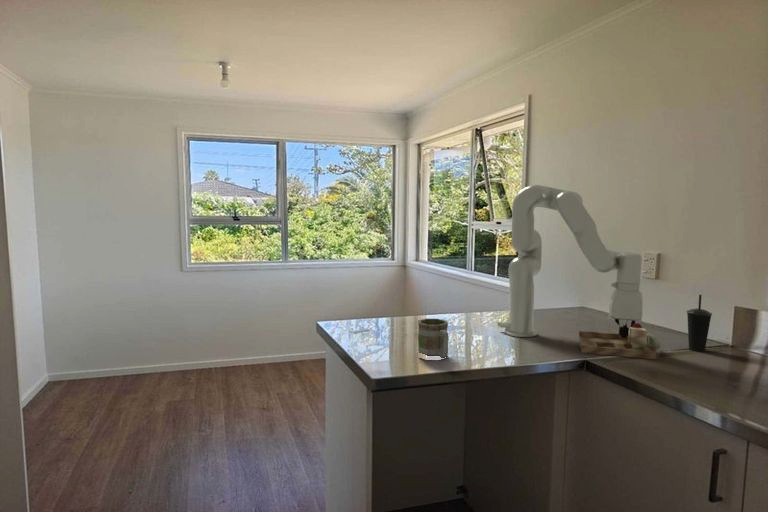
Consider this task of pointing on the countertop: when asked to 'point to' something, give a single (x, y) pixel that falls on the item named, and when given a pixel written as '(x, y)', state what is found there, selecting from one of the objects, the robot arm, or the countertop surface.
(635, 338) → the block
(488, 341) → the countertop surface
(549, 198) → the robot arm
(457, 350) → the countertop surface
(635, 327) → the onion
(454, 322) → the countertop surface
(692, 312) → the drinking cup
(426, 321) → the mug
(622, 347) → the track
